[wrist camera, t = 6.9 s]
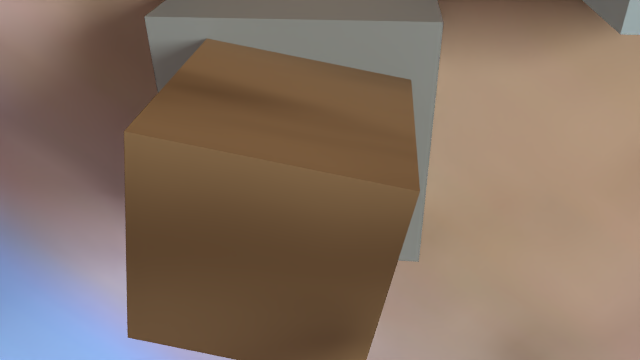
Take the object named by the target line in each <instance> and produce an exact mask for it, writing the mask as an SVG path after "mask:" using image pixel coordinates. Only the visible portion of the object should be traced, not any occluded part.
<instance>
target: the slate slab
mask: <svg viewBox="0 0 640 360" xmlns="http://www.w3.org/2000/svg"><path fill="white" fill-rule="evenodd" d="M145 23H146V29H147V34H148V40H149V46H150V51H151V57H152V63H153V68H154V74H155V80H156V85H157V91H158V93H159V92H160V90H161V89H162V88H163V87H164V86H165V85H166V84H167V83H168V81H169V80H170V79H171V78H172V77H173V76H174V75H175V74H176V73H177V71H178V70H179V69H180V68H181V67H182V66H183V65H184V64H185V62H186V61H187V60H188V59H189V58H190V57H191V56H192V55H193V53H194V52H195V51H196V50H197V49H198V48H199V47H200V46H201V45H202V43H203V42H204V41H205V40H206V39H212V40H217V41H222V42H227V43H232V44H237V45H242V46H247V47H252V48H257V49H262V50H267V51H272V52H277V53H281V54H286V55H291V56H296V57H301V58H306V59H311V60H316V61H321V62H326V63H331V64H336V65H341V66H346V67H351V68H356V69H360V70H365V71H370V72H375V73H380V74H385V75H390V76H395V77H400V78H405V79H410V80H411V83H412V96H413V108H414V121H415V134H416V146H417V159H418V172H419V184H420V193H419V197H418V200H417V203H416V206H415V209H414V212H413V215H412V218H411V222H410V225H409V228H408V231H407V234H406V237H405V240H404V243H403V247H402V250H401V253H400V256H399V259H398V260H400V261H417V262H419V253H420V244H421V234H422V224H423V214H424V205H425V195H426V185H427V176H428V166H429V156H430V147H431V137H432V127H433V118H434V108H435V98H436V89H437V79H438V69H439V59H440V50H441V40H442V30H443V19H442V15H441V11H440V7H439V4H438V0H165V1H164V2H163V3H161V4H160V5H159V6H157V7H156V8H155V9H154V10H152V11H151V12H150V13H148V14H147V15H146V16H145Z"/></svg>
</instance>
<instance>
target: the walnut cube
mask: <svg viewBox="0 0 640 360" xmlns="http://www.w3.org/2000/svg"><path fill="white" fill-rule="evenodd" d="M124 163H125V217H126V271H127V325H128V338H133V339H138V340H143V341H148V342H153V343H158V344H162V345H167V346H172V347H177V348H182V349H187V350H192V351H197V352H202V353H207V354H211V355H216V356H221V357H226V358H231V359H236V360H366V359H367V356H368V353H369V350H370V347H371V343H372V340H373V337H374V334H375V331H376V328H377V325H378V322H379V318H380V315H381V312H382V309H383V306H384V303H385V300H386V297H387V293H388V290H389V287H390V284H391V281H392V278H393V275H394V272H395V268H396V265H397V262H398V259H399V256H400V253H401V250H402V247H403V243H404V240H405V237H406V234H407V231H408V228H409V225H410V222H411V218H412V215H413V212H414V209H415V206H416V203H417V200H418V197H419V193H420V184H419V172H418V159H417V146H416V134H415V121H414V108H413V96H412V83H411V80H410V79H405V78H400V77H395V76H390V75H385V74H380V73H375V72H370V71H365V70H360V69H356V68H351V67H346V66H341V65H336V64H331V63H326V62H321V61H316V60H311V59H306V58H301V57H296V56H291V55H286V54H281V53H277V52H272V51H267V50H262V49H257V48H252V47H247V46H242V45H237V44H232V43H227V42H222V41H217V40H212V39H206V40H205V41H204V42H203V43H202V45H201V46H200V47H199V48H198V49H197V50H196V51H195V52H194V53H193V55H192V56H191V57H190V58H189V59H188V60H187V61H186V62H185V64H184V65H183V66H182V67H181V68H180V69H179V70H178V71H177V73H176V74H175V75H174V76H173V77H172V78H171V79H170V80H169V81H168V83H167V84H166V85H165V86H164V87H163V88H162V89H161V90H160V92H159V93H158V94H157V95H156V96H155V97H154V98H153V99H152V100H151V102H150V103H149V104H148V105H147V106H146V107H145V108H144V109H143V111H142V112H141V113H140V114H139V115H138V116H137V117H136V118H135V120H134V121H133V122H132V123H131V124H130V125H129V126H128V127H127V128H126V130H125V131H124Z"/></svg>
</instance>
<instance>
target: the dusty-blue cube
mask: <svg viewBox="0 0 640 360" xmlns="http://www.w3.org/2000/svg"><path fill="white" fill-rule="evenodd" d="M582 1H584V2H585V3H586V4H587V5H588V6H589V7H590V8H591V9H593V10H594V11H595V12H596V13H597V14H598V15H599V16H600V17H602V18H603V19H604V20H605V21H606V22H607V23H608V24H609V25H611V26H612V27H613V28H614V29H615V30H616V31H617V32H618V33H619V34H628V35H640V0H582Z"/></svg>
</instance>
